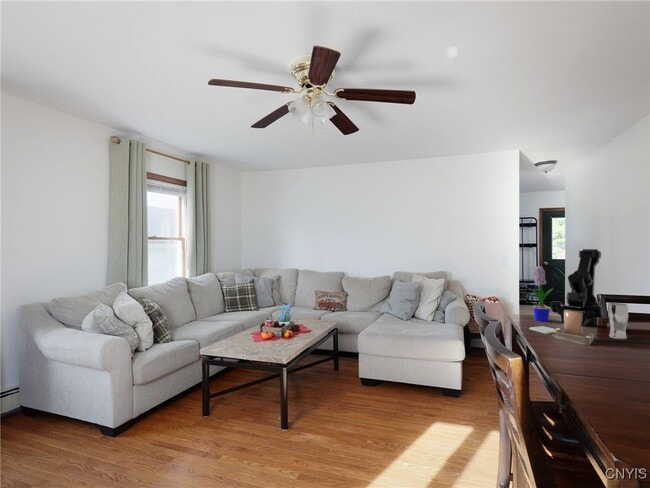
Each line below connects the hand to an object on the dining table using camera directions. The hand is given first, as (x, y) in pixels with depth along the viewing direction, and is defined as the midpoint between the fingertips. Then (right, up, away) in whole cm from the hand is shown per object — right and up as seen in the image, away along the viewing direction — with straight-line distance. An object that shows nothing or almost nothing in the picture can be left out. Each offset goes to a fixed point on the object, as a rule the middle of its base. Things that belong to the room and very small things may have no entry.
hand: (572, 324), depth 152 cm
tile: (-3, -6, +15) cm, 17 cm away
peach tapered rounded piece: (+1, -7, +1) cm, 7 cm away
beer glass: (+22, -7, +3) cm, 23 cm away
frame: (0, -7, 0) cm, 7 cm away
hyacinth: (+10, -6, +36) cm, 38 cm away
